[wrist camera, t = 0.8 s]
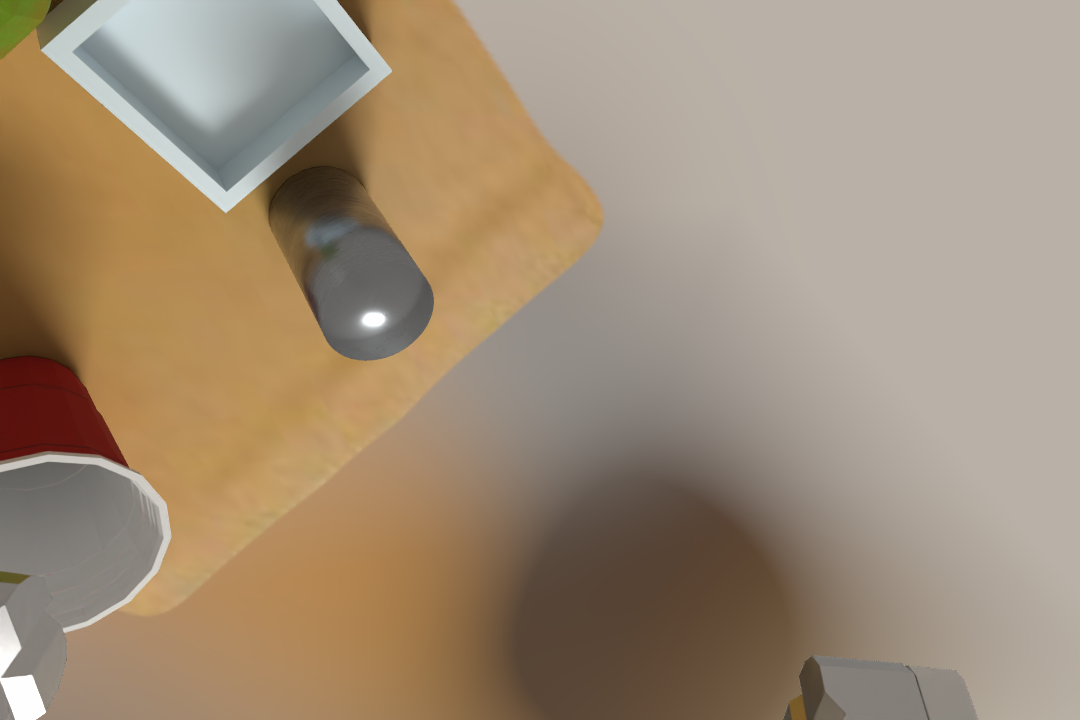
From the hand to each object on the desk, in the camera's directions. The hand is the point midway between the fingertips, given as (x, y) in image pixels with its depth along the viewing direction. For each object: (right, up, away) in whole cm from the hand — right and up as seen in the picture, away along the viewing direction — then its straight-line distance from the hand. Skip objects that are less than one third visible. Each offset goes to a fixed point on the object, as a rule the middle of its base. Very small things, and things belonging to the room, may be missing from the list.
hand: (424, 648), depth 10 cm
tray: (-14, +18, +34) cm, 40 cm away
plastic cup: (-26, +1, +40) cm, 48 cm away
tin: (-11, +11, +41) cm, 44 cm away
